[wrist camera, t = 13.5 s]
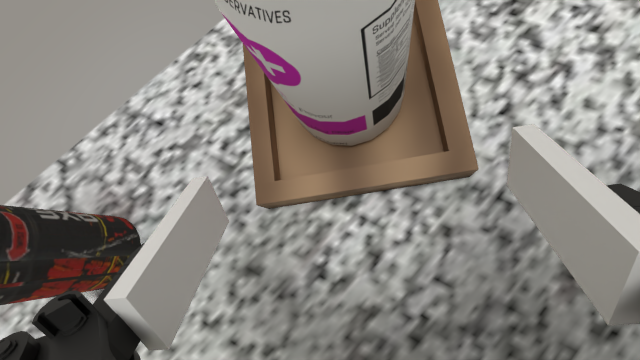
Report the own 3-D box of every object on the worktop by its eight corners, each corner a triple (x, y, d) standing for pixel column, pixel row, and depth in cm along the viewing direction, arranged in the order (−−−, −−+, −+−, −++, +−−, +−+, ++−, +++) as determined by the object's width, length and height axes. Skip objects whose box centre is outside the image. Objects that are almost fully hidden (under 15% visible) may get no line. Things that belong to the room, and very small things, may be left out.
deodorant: (74, 283, 28) (-265, 326, 13) (89, 214, 29) (-211, 184, 14) (133, 292, 26) (-171, 350, 12) (146, 219, 28) (-119, 193, 13)
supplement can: (323, 167, 24) (228, 55, 10) (281, 79, 26) (152, -121, 12) (423, 117, 23) (482, -85, 9) (372, 30, 25) (353, -248, 11)
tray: (427, -3, 26) (431, -28, 24) (468, 177, 23) (478, 169, 21) (253, 41, 29) (241, 23, 26) (268, 208, 25) (256, 204, 23)
